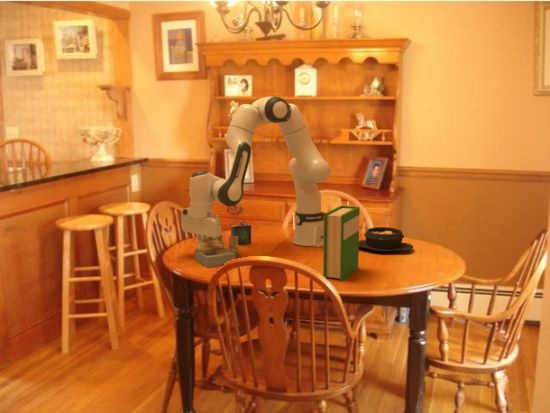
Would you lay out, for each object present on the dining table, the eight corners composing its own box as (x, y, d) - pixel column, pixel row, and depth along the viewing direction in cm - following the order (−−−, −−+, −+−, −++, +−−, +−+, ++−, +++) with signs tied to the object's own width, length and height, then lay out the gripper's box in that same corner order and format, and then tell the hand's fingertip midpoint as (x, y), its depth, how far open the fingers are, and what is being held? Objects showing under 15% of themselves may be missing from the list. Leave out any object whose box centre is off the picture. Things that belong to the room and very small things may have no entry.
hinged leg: (220, 246, 239) (220, 239, 238) (224, 247, 237) (223, 240, 236) (196, 250, 233) (196, 242, 232) (199, 251, 231) (199, 244, 230)
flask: (231, 246, 256) (231, 222, 254) (230, 244, 259) (230, 221, 257) (251, 244, 259) (251, 221, 257) (250, 242, 262) (249, 219, 260)
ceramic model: (197, 243, 262) (196, 221, 260) (221, 241, 265) (220, 219, 263) (203, 250, 249) (203, 228, 247) (229, 248, 252) (228, 226, 250)
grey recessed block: (221, 255, 240) (221, 246, 240) (235, 263, 228) (235, 253, 228) (194, 259, 235) (194, 249, 234) (207, 267, 223) (207, 257, 222)
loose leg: (235, 254, 242) (235, 235, 241) (239, 256, 239) (239, 237, 237) (227, 255, 240) (227, 236, 239) (231, 257, 237) (230, 238, 236)
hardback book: (342, 281, 206) (343, 215, 201) (323, 278, 209) (324, 213, 204) (358, 268, 221) (359, 207, 217) (339, 266, 224) (341, 205, 220)
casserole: (350, 252, 245) (350, 233, 243) (359, 242, 262) (359, 224, 260) (410, 257, 236) (411, 237, 235) (415, 246, 254) (416, 228, 252)
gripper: (224, 213, 228) (225, 247, 231) (189, 207, 241) (190, 239, 244) (213, 216, 224) (214, 250, 226) (178, 209, 237) (179, 242, 239)
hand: (201, 244), depth 235 cm, fingers closed
